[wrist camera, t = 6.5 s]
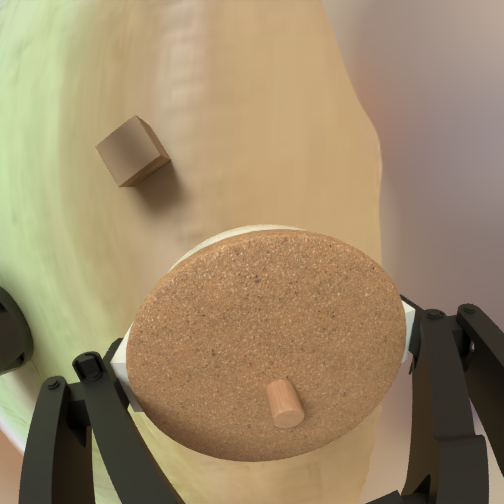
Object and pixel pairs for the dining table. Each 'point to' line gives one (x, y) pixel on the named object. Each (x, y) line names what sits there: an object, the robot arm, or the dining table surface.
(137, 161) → the cube walnut
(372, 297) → the lidded jar
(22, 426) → the dining table surface
